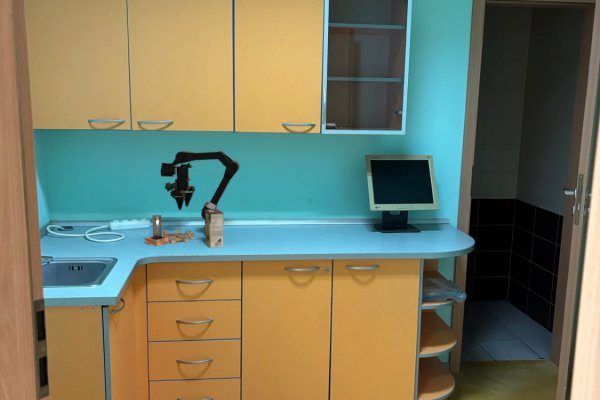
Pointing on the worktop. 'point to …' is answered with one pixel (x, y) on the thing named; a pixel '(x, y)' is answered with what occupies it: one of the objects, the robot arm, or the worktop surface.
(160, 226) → the pin
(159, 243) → the sprocket
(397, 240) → the worktop surface
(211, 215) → the coffee box
